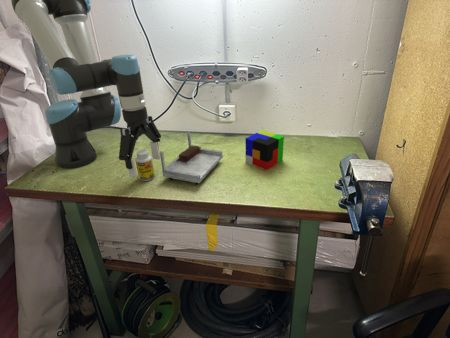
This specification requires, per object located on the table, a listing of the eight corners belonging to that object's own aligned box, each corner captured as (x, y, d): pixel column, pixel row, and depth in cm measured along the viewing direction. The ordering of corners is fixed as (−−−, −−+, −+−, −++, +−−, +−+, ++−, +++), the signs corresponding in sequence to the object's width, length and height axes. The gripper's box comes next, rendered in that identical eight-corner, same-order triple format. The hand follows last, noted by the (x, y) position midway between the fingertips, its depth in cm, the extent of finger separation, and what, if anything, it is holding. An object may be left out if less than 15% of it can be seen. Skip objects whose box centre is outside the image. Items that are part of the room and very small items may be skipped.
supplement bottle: (138, 182, 105) (133, 156, 100) (139, 175, 109) (134, 149, 104) (155, 180, 106) (150, 154, 101) (154, 173, 110) (150, 147, 106)
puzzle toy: (245, 162, 115) (245, 138, 110) (261, 153, 121) (261, 130, 117) (267, 170, 109) (267, 145, 104) (282, 160, 115) (283, 136, 110)
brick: (188, 167, 112) (186, 156, 110) (179, 166, 114) (177, 154, 111) (202, 156, 120) (201, 145, 118) (194, 154, 122) (193, 143, 119)
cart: (163, 180, 105) (159, 152, 100) (190, 156, 121) (188, 130, 116) (199, 187, 100) (197, 158, 95) (222, 161, 116) (221, 134, 111)
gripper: (116, 121, 84) (131, 186, 94) (165, 97, 104) (173, 153, 114) (96, 119, 86) (112, 182, 96) (147, 96, 107) (156, 151, 116)
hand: (145, 167), depth 105 cm, fingers open, 13 cm apart
